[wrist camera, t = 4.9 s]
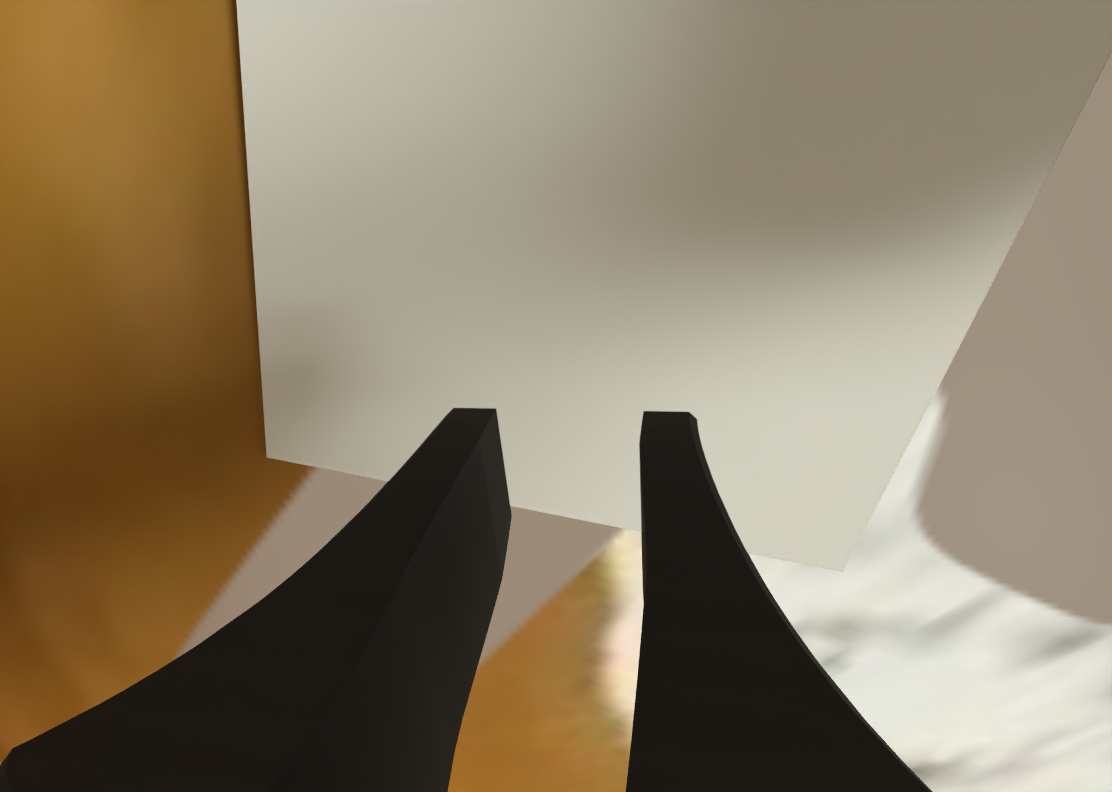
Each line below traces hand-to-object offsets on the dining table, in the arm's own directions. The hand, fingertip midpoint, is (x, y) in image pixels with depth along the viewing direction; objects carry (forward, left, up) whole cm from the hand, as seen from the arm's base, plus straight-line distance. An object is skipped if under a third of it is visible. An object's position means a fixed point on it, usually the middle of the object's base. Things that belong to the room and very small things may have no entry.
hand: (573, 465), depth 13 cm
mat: (0, 0, -8) cm, 8 cm away
